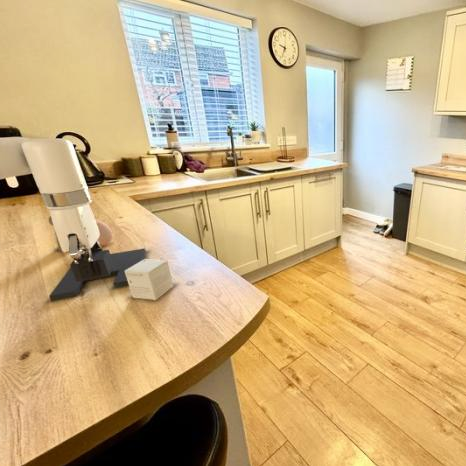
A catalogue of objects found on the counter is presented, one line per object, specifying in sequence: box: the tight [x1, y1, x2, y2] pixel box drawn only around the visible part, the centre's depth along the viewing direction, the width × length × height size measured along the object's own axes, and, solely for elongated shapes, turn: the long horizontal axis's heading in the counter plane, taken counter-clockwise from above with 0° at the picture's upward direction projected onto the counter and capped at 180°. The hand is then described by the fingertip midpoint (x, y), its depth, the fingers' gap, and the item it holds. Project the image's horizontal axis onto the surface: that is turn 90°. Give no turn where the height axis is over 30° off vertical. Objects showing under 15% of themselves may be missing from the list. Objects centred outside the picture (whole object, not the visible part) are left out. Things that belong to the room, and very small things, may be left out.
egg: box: [96, 220, 114, 248], centre depth 90 cm, size 7×7×8 cm
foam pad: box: [69, 249, 114, 282], centre depth 69 cm, size 6×6×4 cm
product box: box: [125, 258, 174, 301], centre depth 67 cm, size 6×6×7 cm
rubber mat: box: [49, 248, 147, 302], centre depth 76 cm, size 16×20×2 cm
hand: (95, 269), depth 69 cm, fingers closed on foam pad, 6 cm apart
